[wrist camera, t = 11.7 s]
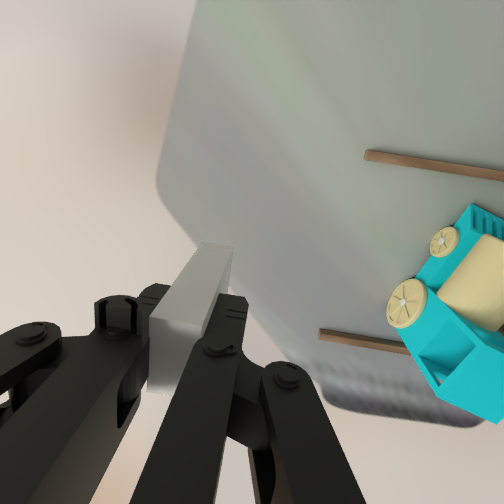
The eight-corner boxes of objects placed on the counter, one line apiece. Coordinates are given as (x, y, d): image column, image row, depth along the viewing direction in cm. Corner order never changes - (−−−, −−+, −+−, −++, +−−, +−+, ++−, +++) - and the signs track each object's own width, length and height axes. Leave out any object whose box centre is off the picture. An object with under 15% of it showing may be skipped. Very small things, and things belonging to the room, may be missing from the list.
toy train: (517, 227, 37) (661, 282, 23) (429, 332, 43) (503, 427, 29) (460, 198, 37) (574, 236, 23) (379, 308, 42) (430, 393, 28)
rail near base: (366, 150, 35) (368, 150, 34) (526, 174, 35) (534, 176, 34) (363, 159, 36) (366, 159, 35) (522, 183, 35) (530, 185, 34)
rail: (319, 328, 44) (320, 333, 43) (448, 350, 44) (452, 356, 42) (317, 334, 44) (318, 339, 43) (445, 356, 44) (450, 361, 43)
